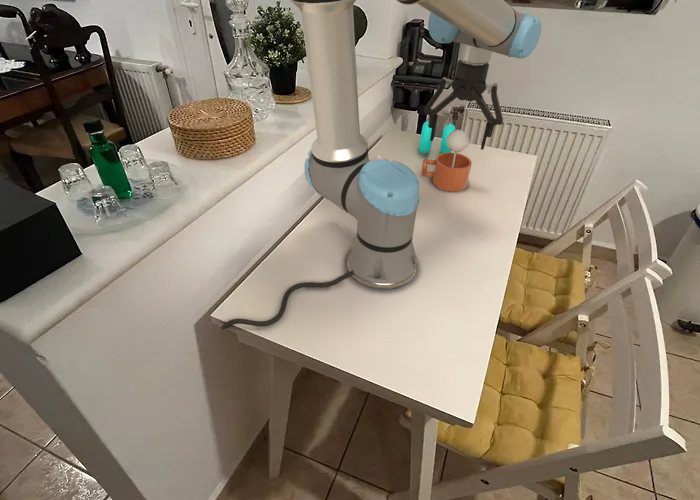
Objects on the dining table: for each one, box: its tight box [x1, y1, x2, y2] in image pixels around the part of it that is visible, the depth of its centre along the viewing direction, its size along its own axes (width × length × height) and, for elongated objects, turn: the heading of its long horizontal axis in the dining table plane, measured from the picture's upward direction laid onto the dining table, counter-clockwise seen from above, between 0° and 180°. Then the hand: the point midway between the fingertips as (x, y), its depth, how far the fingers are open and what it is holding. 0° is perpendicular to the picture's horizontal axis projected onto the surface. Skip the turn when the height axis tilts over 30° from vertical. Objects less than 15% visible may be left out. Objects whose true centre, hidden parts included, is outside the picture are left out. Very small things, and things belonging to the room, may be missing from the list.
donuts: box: [418, 120, 456, 155], centre depth 135 cm, size 10×10×10 cm
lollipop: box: [446, 129, 470, 168], centre depth 119 cm, size 6×6×15 cm
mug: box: [420, 152, 473, 192], centre depth 122 cm, size 13×10×7 cm
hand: (456, 143), depth 116 cm, fingers open, 13 cm apart
